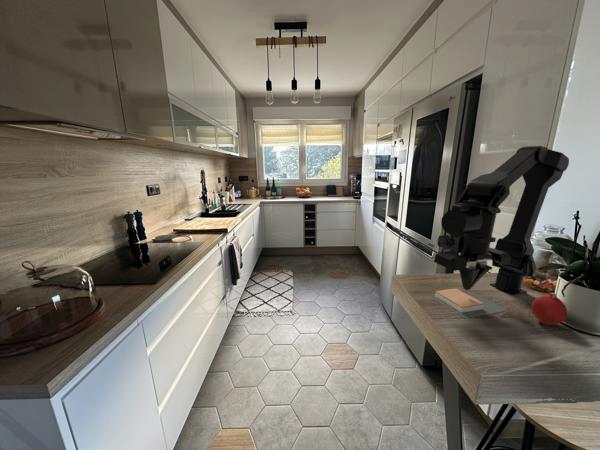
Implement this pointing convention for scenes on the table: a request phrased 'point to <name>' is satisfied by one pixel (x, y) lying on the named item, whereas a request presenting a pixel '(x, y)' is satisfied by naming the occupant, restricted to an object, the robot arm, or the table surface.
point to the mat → (487, 309)
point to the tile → (459, 300)
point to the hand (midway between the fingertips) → (466, 289)
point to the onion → (549, 309)
